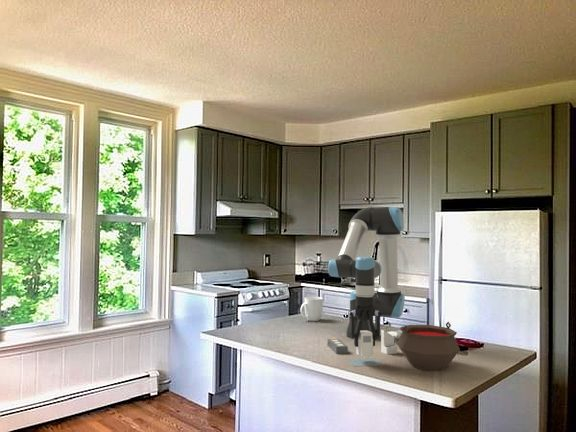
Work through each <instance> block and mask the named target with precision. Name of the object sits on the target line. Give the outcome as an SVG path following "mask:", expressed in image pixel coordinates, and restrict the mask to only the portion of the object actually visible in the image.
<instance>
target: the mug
mask: <svg viewBox="0 0 576 432" xmlns="http://www.w3.org/2000/svg"><path fill="white" fill-rule="evenodd" d="M303 299H304V302H303V303H302V304H301V306H300V311H299V312H300V314H301V316H302V317H303V318H306V319H307V321H309V322H319V321H320V319H321V318H322V315H323V311H324V310H323V308H324V298H323V297H321V296H305V297H304V298H303ZM303 309H304V311H303Z"/></svg>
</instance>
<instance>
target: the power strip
mask: <svg viewBox="0 0 576 432" xmlns="http://www.w3.org/2000/svg"><path fill="white" fill-rule="evenodd" d="M326 343H327V347H328V348H329V349H331V351H333V352H334V353H335V354H336V355H338V354H339V355H341V354H342V355H343V354H348V353H349V350H348V349H349V346H348V345H347V344H345V343H344V342H343V341H341V340H340V339H339V338H336V337H331V338H327V342H326Z"/></svg>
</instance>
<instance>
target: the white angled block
mask: <svg viewBox="0 0 576 432" xmlns="http://www.w3.org/2000/svg"><path fill="white" fill-rule="evenodd" d="M380 344H381V345H380V346H381V347H380V352H381V353H383V354H385V355H394V354H398V345H397V344H396V345H395V336H394V335H392V334H391V333H389V332H387V331H386V330H384V329H380Z"/></svg>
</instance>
